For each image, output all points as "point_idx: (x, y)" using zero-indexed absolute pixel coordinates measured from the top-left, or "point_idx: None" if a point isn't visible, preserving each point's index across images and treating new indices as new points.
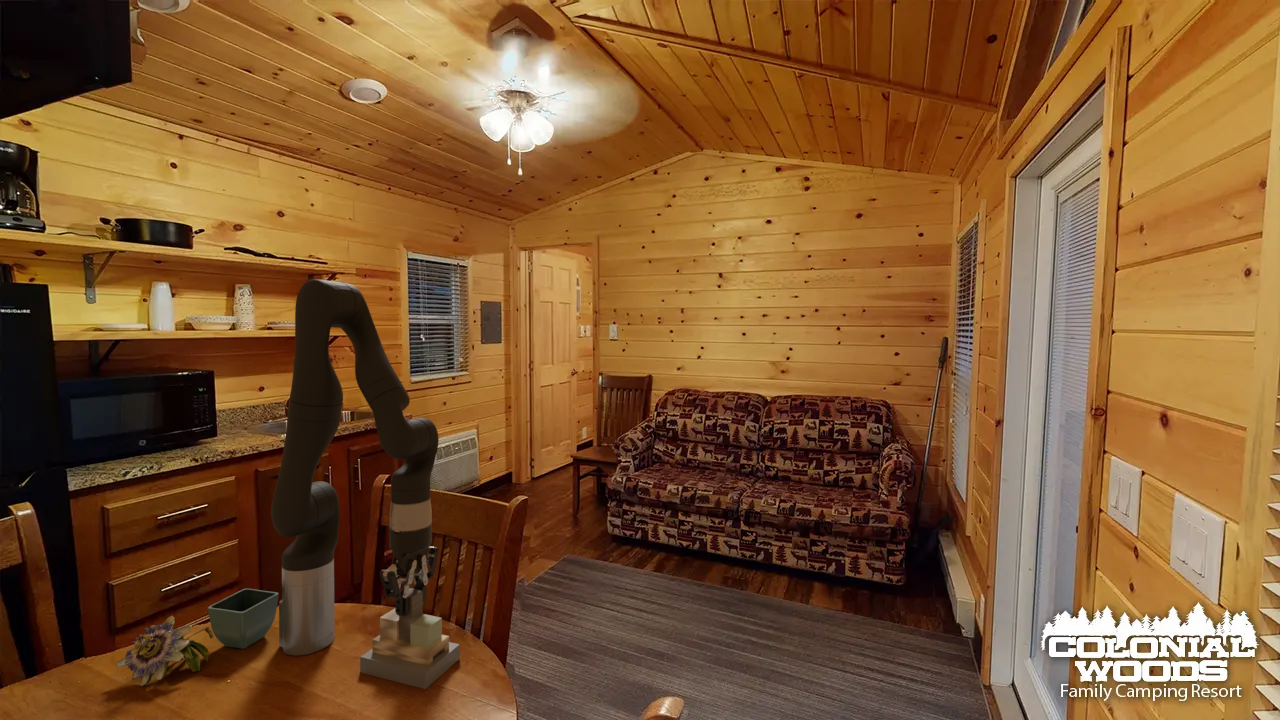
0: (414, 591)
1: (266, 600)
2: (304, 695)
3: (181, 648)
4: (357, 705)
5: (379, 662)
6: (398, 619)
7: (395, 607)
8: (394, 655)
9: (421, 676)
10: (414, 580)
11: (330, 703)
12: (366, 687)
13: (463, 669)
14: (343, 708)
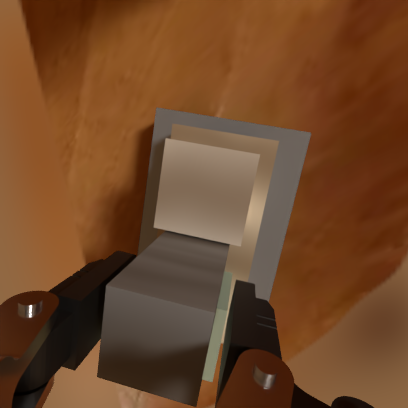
0: (169, 363)
1: None
2: (72, 44)
3: None
4: (75, 183)
5: (148, 175)
6: (168, 226)
7: (74, 274)
8: None
9: None
10: (230, 380)
11: (67, 124)
12: (125, 165)
13: None
14: (62, 161)
